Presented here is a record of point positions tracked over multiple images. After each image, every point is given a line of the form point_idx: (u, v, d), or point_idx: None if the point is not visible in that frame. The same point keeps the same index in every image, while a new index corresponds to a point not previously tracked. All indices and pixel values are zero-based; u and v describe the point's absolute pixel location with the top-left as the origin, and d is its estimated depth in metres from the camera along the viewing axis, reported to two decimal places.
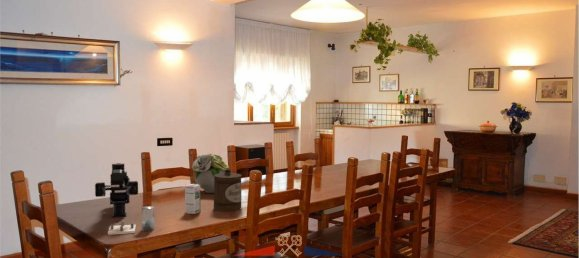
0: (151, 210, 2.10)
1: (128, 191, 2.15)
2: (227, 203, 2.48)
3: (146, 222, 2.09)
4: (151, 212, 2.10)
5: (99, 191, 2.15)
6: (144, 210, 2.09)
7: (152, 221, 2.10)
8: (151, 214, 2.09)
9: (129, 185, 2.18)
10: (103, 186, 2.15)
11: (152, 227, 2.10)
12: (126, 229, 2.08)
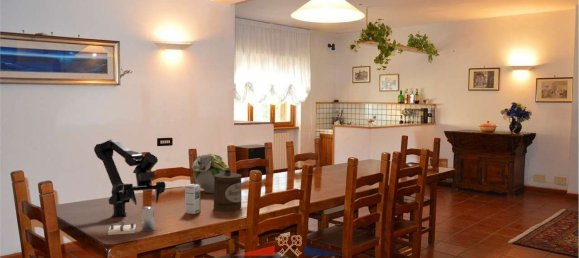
0: (151, 210, 2.10)
1: (157, 199, 2.18)
2: (227, 203, 2.48)
3: (146, 222, 2.09)
4: (151, 212, 2.10)
5: (127, 193, 2.16)
6: (144, 210, 2.09)
7: (152, 221, 2.10)
8: (151, 214, 2.09)
9: (157, 190, 2.19)
10: (132, 192, 2.14)
11: (152, 227, 2.10)
12: (126, 229, 2.08)
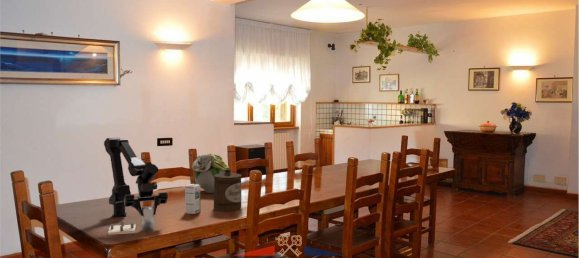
0: (151, 210, 2.10)
1: (155, 211, 2.13)
2: (227, 203, 2.48)
3: (146, 222, 2.09)
4: (151, 212, 2.10)
5: (133, 204, 2.12)
6: (144, 210, 2.09)
7: (152, 221, 2.10)
8: (151, 214, 2.09)
9: (156, 201, 2.14)
10: (138, 202, 2.10)
11: (152, 227, 2.10)
12: (126, 229, 2.08)
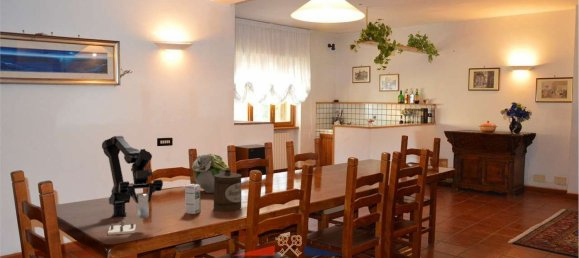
0: (146, 197, 2.09)
1: (150, 198, 2.12)
2: (227, 203, 2.48)
3: (141, 209, 2.08)
4: (146, 199, 2.09)
5: (128, 191, 2.11)
6: (139, 197, 2.08)
7: (147, 208, 2.10)
8: (145, 201, 2.09)
9: (150, 188, 2.13)
10: (133, 189, 2.10)
11: (147, 214, 2.10)
12: (126, 229, 2.08)
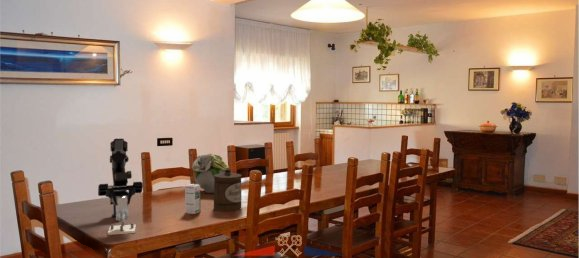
0: (125, 199, 2.07)
1: None
2: (227, 203, 2.48)
3: (120, 212, 2.06)
4: (125, 201, 2.07)
5: (107, 193, 2.09)
6: (118, 199, 2.06)
7: (126, 210, 2.08)
8: (124, 204, 2.07)
9: (130, 191, 2.11)
10: (112, 192, 2.08)
11: (126, 216, 2.08)
12: (126, 229, 2.08)
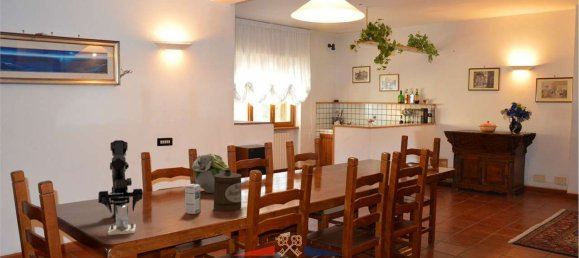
0: (125, 208, 2.07)
1: (134, 207, 2.11)
2: (227, 203, 2.48)
3: (120, 221, 2.07)
4: (125, 210, 2.07)
5: (103, 201, 2.09)
6: (118, 208, 2.07)
7: (126, 220, 2.08)
8: (124, 213, 2.07)
9: (134, 197, 2.12)
10: (108, 199, 2.07)
11: (126, 226, 2.08)
12: (126, 229, 2.08)
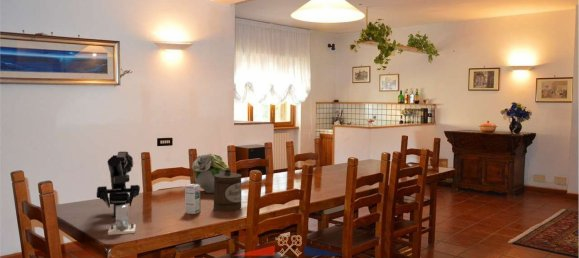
0: (125, 208, 2.07)
1: (131, 202, 2.20)
2: (227, 203, 2.48)
3: (120, 221, 2.07)
4: (125, 210, 2.07)
5: (101, 196, 2.17)
6: (118, 208, 2.07)
7: (126, 220, 2.08)
8: (124, 213, 2.07)
9: (132, 193, 2.21)
10: (106, 194, 2.16)
11: (126, 226, 2.08)
12: (126, 229, 2.08)
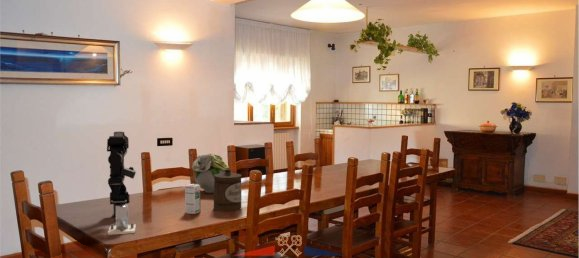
0: (125, 208, 2.07)
1: None
2: (227, 203, 2.48)
3: (120, 221, 2.07)
4: (125, 210, 2.07)
5: None
6: (118, 208, 2.07)
7: (126, 220, 2.08)
8: (124, 213, 2.07)
9: None
10: (120, 186, 2.15)
11: (126, 226, 2.08)
12: (126, 229, 2.08)
